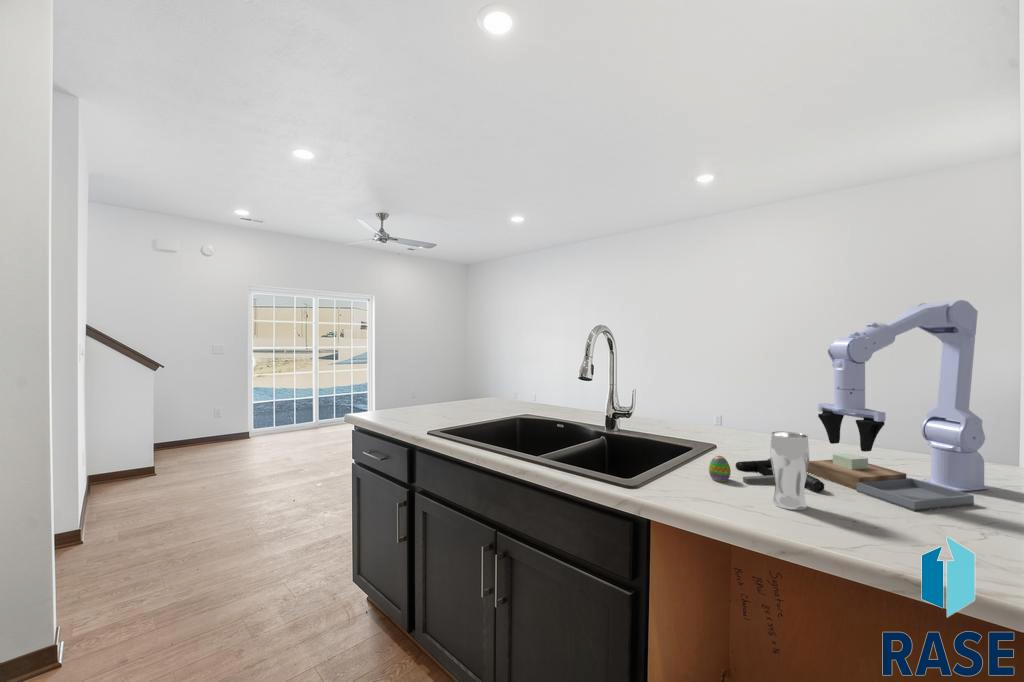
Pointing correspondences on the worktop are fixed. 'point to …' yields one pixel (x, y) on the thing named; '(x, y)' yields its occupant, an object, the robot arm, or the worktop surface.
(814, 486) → the door handle
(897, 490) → the tray
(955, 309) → the robot arm
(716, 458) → the egg
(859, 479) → the wooden cutting board
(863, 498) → the worktop surface
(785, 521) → the worktop surface
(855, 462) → the block
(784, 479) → the beer glass
